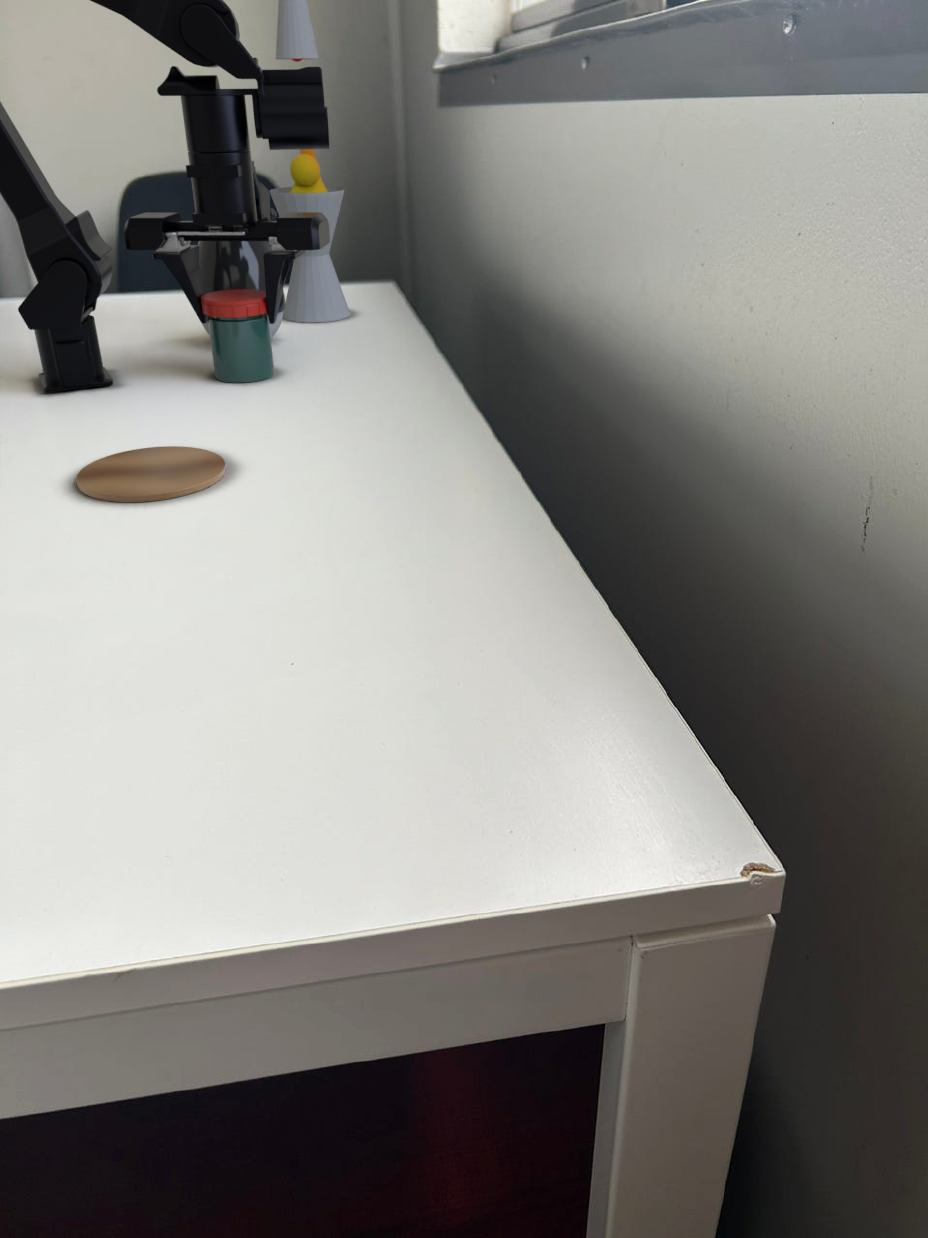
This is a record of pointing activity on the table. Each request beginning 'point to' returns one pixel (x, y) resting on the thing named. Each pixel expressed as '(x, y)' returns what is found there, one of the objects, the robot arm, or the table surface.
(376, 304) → the table surface
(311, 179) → the lava lamp
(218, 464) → the coaster
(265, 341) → the jar
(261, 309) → the jar lid
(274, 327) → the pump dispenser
